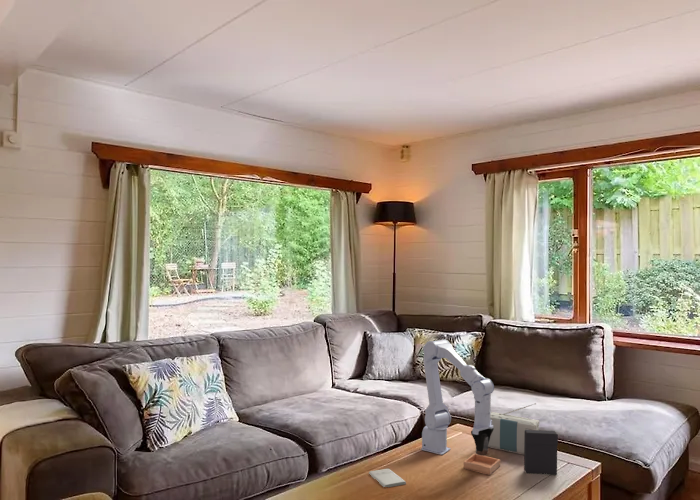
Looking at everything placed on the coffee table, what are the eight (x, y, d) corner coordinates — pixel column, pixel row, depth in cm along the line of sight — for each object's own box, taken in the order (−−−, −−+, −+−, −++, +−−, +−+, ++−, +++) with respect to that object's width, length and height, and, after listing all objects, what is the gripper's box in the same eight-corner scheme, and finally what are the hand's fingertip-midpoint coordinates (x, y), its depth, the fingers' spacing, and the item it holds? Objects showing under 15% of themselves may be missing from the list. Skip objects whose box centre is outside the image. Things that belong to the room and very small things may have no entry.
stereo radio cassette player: (482, 447, 224) (483, 398, 224) (490, 442, 231) (490, 394, 231) (534, 459, 212) (535, 407, 212) (540, 453, 219) (541, 403, 219)
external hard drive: (384, 489, 184) (368, 475, 196) (406, 486, 188) (389, 472, 199) (384, 484, 184) (368, 471, 196) (406, 481, 188) (389, 467, 199)
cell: (474, 454, 202) (474, 434, 202) (477, 450, 206) (478, 431, 206) (486, 456, 200) (486, 437, 200) (489, 452, 204) (489, 433, 204)
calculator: (554, 471, 200) (554, 430, 200) (557, 476, 196) (558, 434, 196) (523, 469, 202) (523, 428, 202) (526, 474, 197) (526, 432, 197)
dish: (463, 468, 202) (463, 461, 202) (474, 460, 210) (474, 453, 210) (490, 475, 196) (490, 468, 196) (500, 466, 204) (500, 459, 204)
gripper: (485, 418, 195) (485, 457, 195) (499, 409, 207) (499, 445, 207) (467, 415, 199) (466, 452, 199) (482, 406, 211) (481, 441, 211)
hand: (482, 448), depth 203 cm, fingers closed on cell, 4 cm apart
